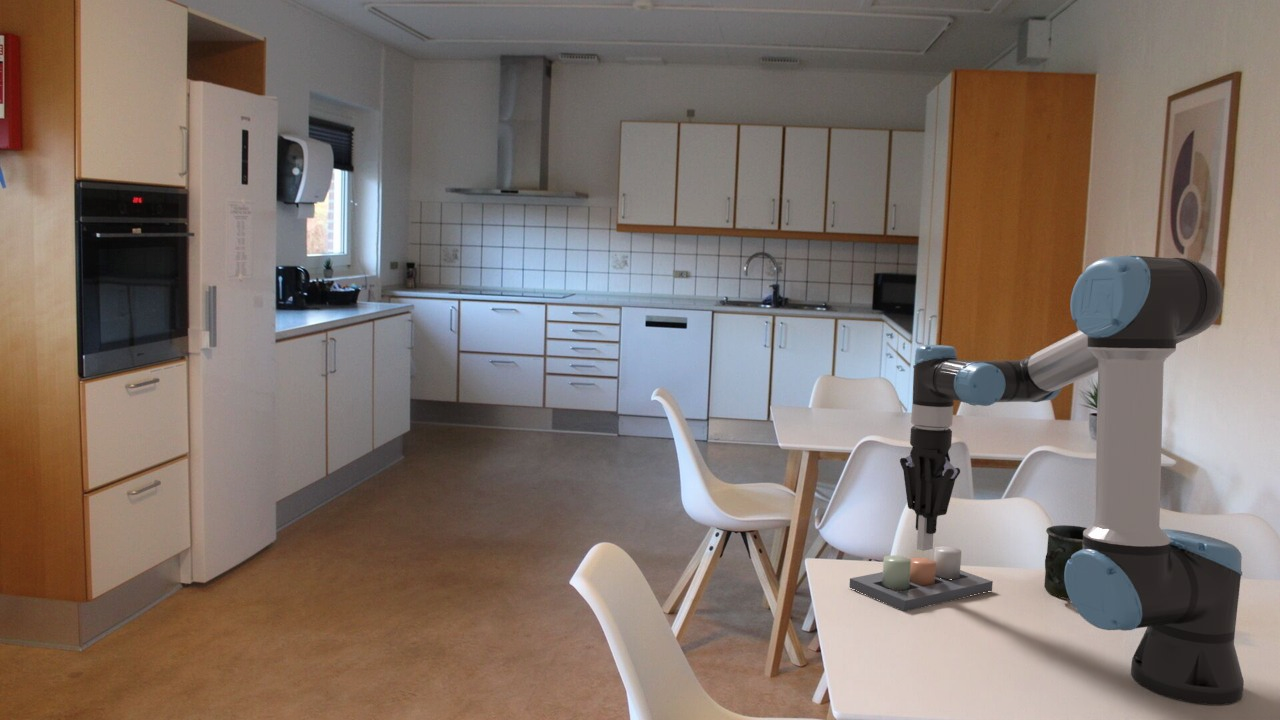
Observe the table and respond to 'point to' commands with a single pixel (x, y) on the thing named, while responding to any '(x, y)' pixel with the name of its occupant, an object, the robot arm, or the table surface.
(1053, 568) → the mug
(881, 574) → the button board
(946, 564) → the grey button
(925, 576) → the terracotta button
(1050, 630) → the table surface
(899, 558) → the sage button
